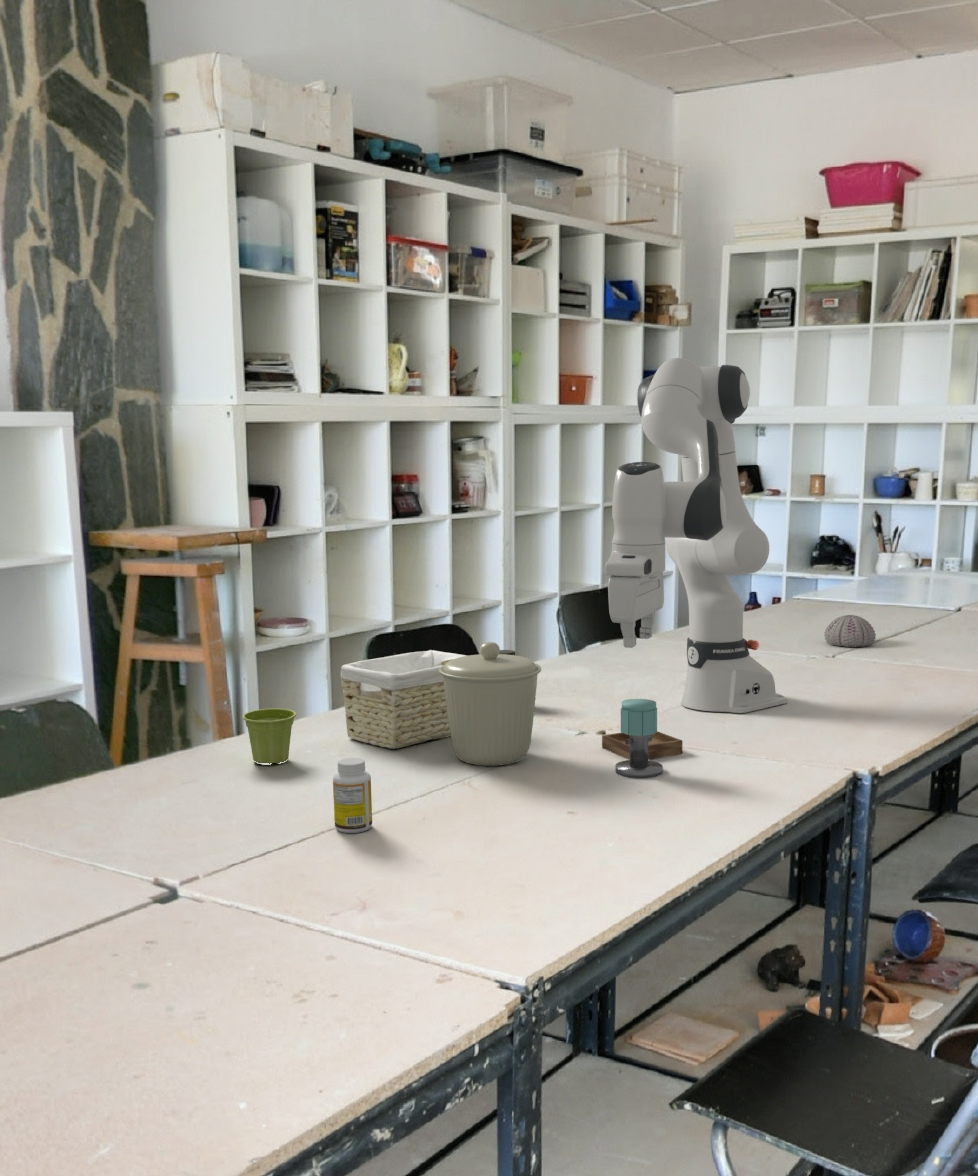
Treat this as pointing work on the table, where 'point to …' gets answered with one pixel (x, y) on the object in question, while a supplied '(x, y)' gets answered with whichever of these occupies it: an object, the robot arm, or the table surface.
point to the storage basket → (396, 699)
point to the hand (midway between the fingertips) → (638, 642)
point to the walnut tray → (656, 747)
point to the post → (638, 760)
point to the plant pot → (270, 734)
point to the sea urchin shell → (850, 632)
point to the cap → (639, 717)
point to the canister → (490, 705)
